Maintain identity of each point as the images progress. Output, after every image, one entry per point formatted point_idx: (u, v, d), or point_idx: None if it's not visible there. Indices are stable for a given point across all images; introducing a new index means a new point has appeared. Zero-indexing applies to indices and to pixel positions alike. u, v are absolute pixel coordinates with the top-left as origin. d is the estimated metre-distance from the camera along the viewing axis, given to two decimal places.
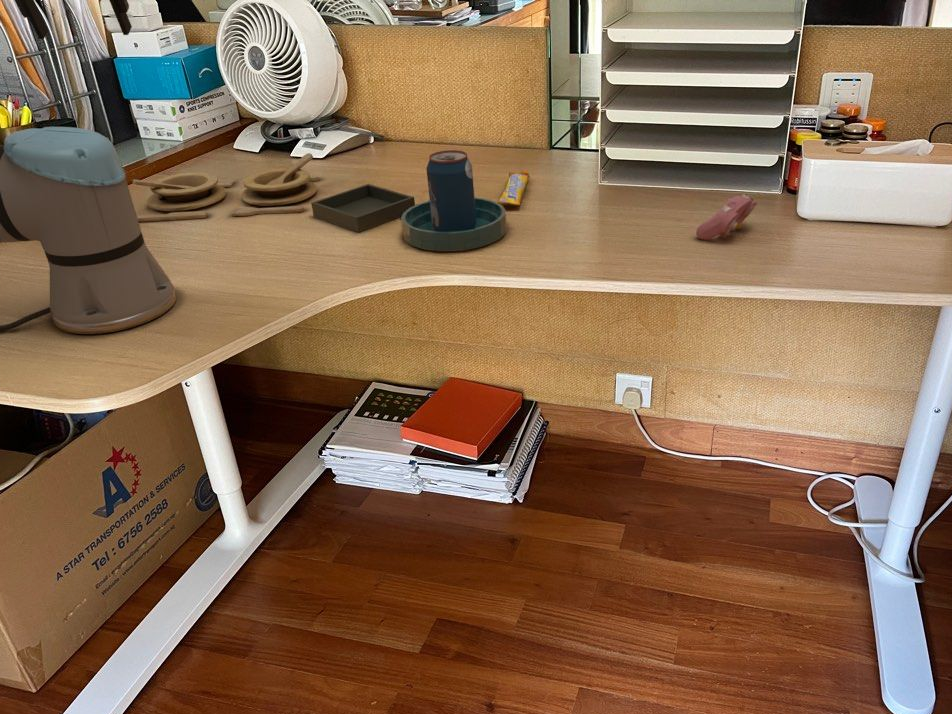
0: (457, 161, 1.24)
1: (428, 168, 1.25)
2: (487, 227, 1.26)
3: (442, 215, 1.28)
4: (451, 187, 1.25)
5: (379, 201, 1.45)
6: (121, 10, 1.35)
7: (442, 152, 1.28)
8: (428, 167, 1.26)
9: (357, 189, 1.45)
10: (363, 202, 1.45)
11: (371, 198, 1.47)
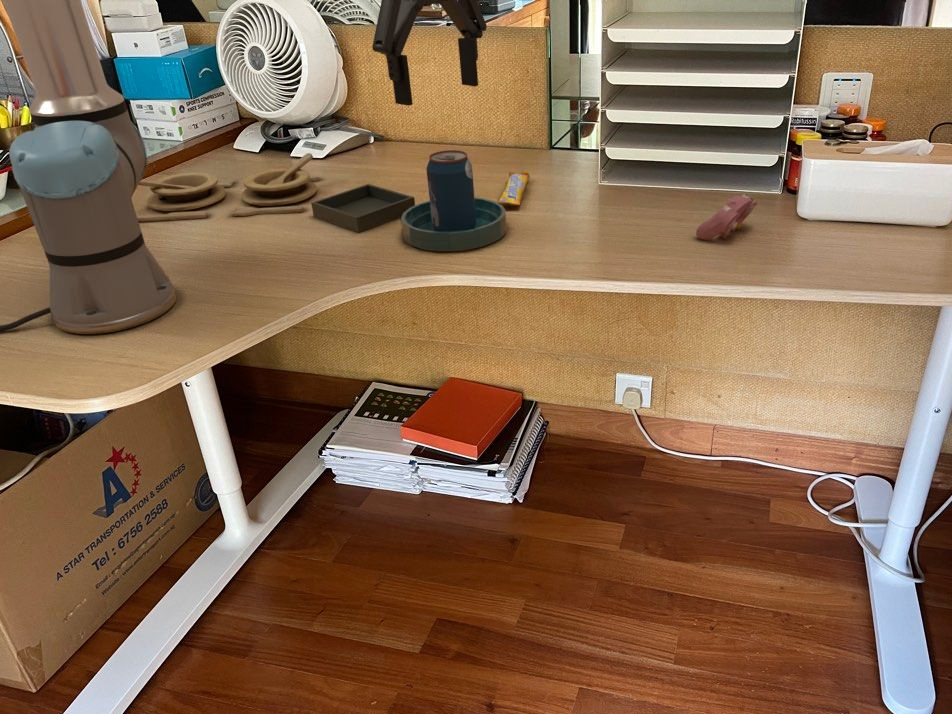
0: (457, 161, 1.24)
1: (428, 168, 1.25)
2: (487, 227, 1.26)
3: (442, 215, 1.28)
4: (451, 187, 1.25)
5: (379, 201, 1.45)
6: None
7: (442, 152, 1.28)
8: (428, 167, 1.26)
9: (357, 189, 1.45)
10: (363, 202, 1.45)
11: (371, 198, 1.47)
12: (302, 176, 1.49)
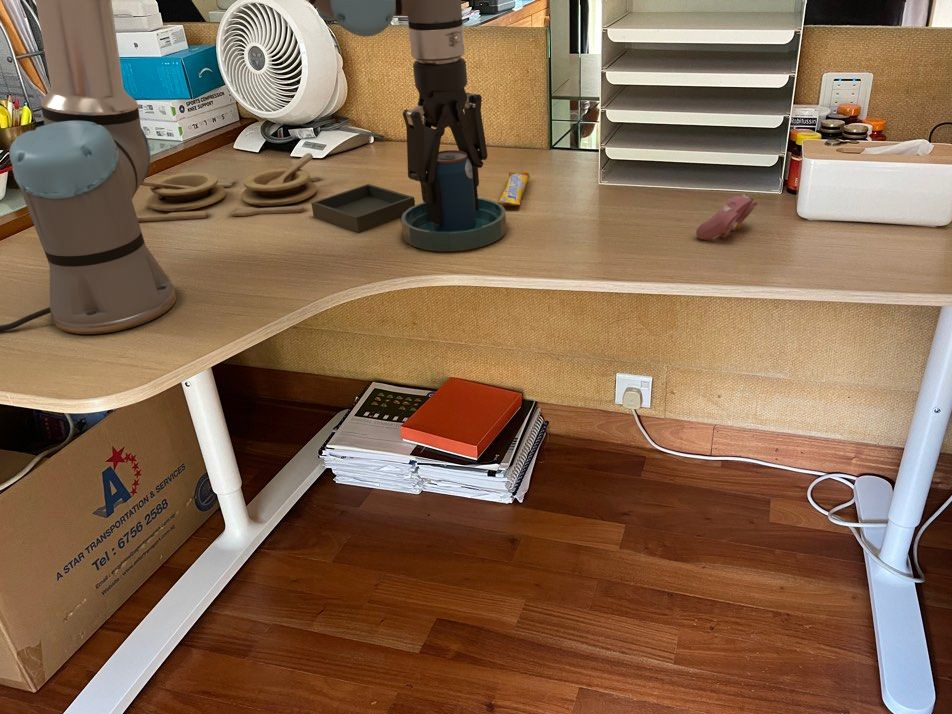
0: (457, 161, 1.24)
1: None
2: (487, 227, 1.26)
3: None
4: (451, 187, 1.25)
5: (379, 201, 1.45)
6: None
7: (442, 152, 1.28)
8: None
9: (357, 189, 1.45)
10: (363, 202, 1.45)
11: (371, 198, 1.47)
12: (302, 176, 1.49)
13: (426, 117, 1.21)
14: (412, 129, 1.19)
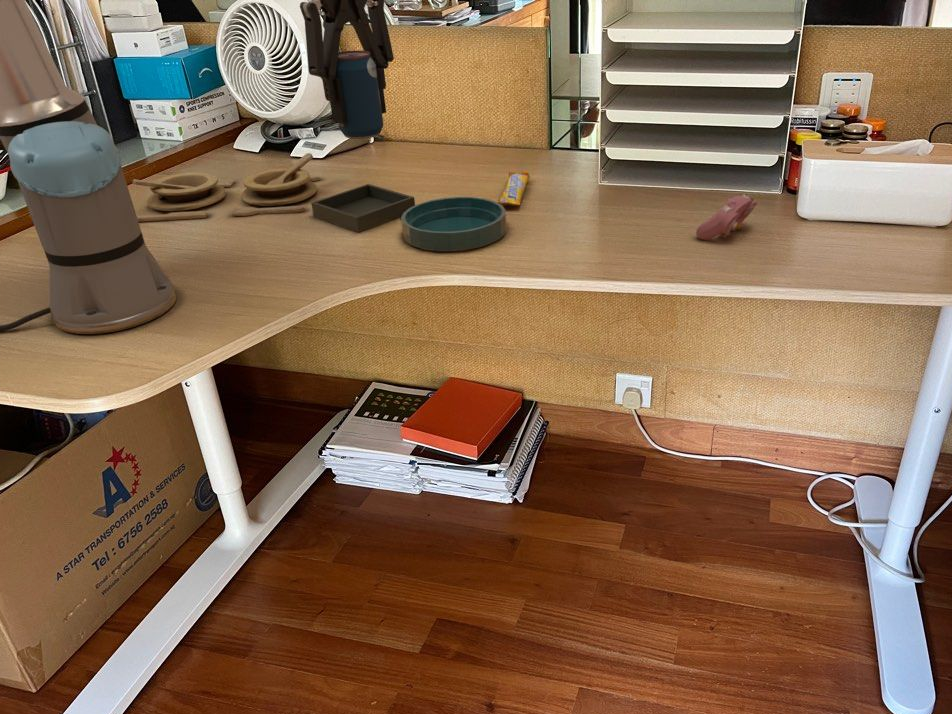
0: (358, 58, 1.25)
1: None
2: (487, 227, 1.26)
3: (346, 114, 1.28)
4: (353, 85, 1.26)
5: (379, 201, 1.45)
6: None
7: (347, 52, 1.29)
8: None
9: (357, 189, 1.45)
10: (363, 202, 1.45)
11: (371, 198, 1.47)
12: (302, 176, 1.49)
13: (325, 11, 1.22)
14: (309, 22, 1.20)
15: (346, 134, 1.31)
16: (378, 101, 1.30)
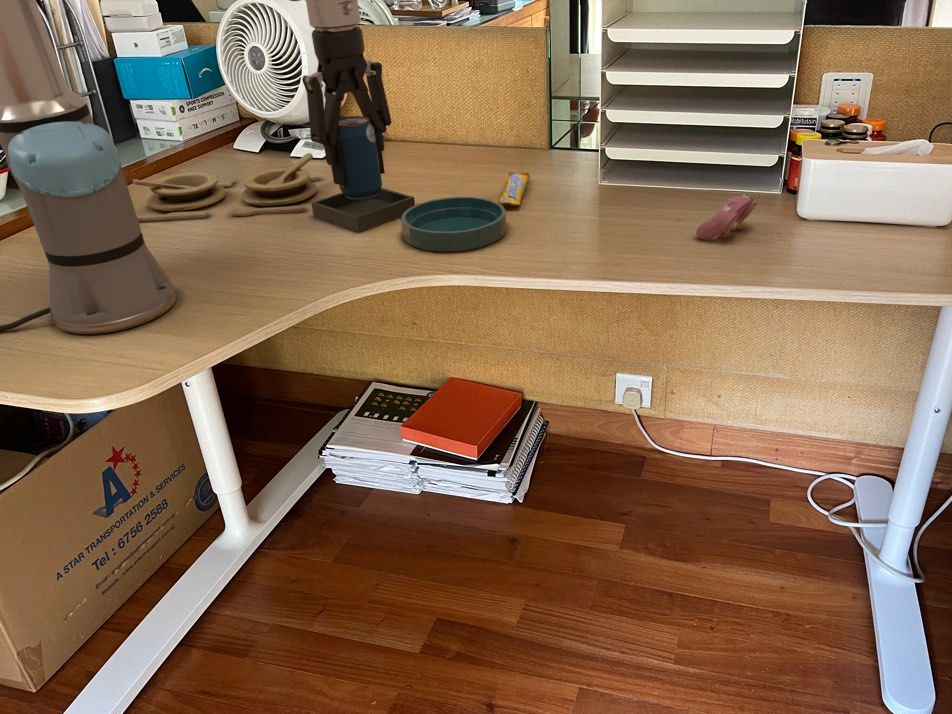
0: (358, 125, 1.31)
1: None
2: (487, 227, 1.26)
3: (347, 177, 1.35)
4: (353, 150, 1.32)
5: (379, 201, 1.45)
6: None
7: (347, 118, 1.35)
8: None
9: None
10: (363, 202, 1.45)
11: (371, 198, 1.47)
12: (302, 176, 1.49)
13: (326, 83, 1.28)
14: (311, 94, 1.26)
15: (347, 195, 1.37)
16: (377, 164, 1.36)
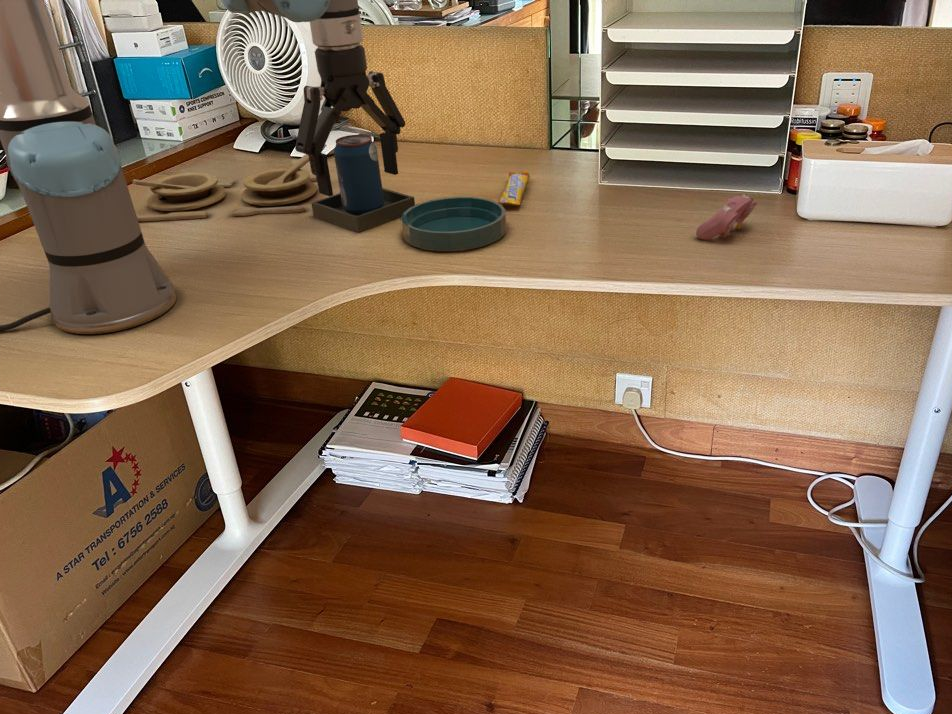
0: (361, 144, 1.33)
1: (335, 151, 1.34)
2: (487, 227, 1.26)
3: (349, 195, 1.36)
4: (356, 169, 1.34)
5: None
6: None
7: (349, 136, 1.37)
8: (335, 150, 1.34)
9: None
10: None
11: None
12: (302, 176, 1.49)
13: (329, 100, 1.30)
14: (309, 104, 1.27)
15: (349, 212, 1.39)
16: (379, 182, 1.38)
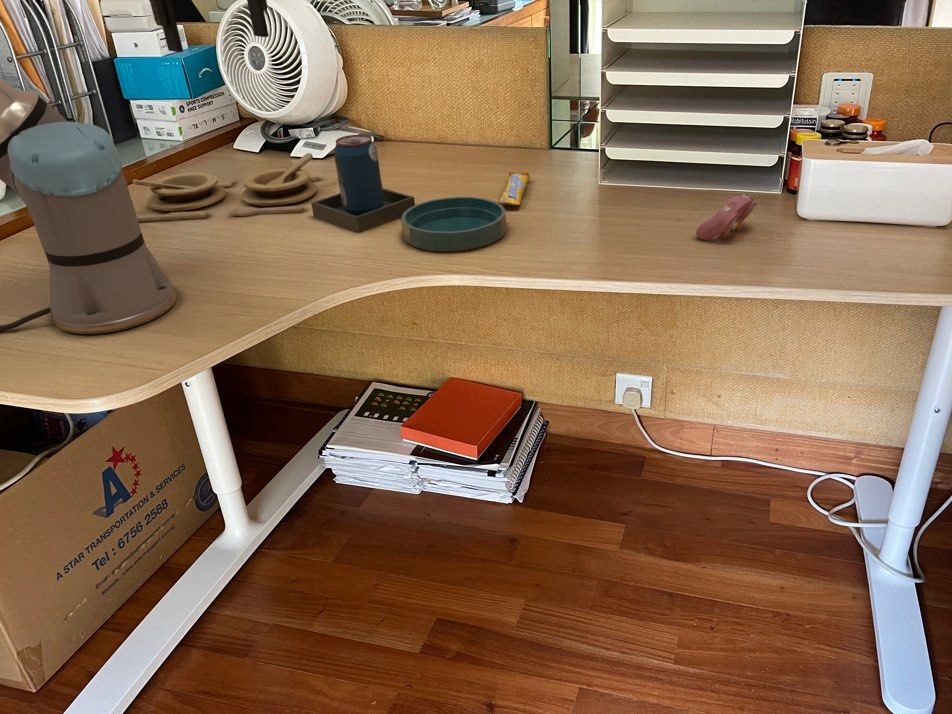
0: (361, 144, 1.33)
1: (335, 151, 1.34)
2: (487, 227, 1.26)
3: (349, 195, 1.36)
4: (356, 169, 1.34)
5: None
6: None
7: (349, 136, 1.37)
8: (335, 150, 1.34)
9: None
10: None
11: None
12: (302, 176, 1.49)
13: None
14: None
15: (349, 212, 1.39)
16: (379, 182, 1.38)
